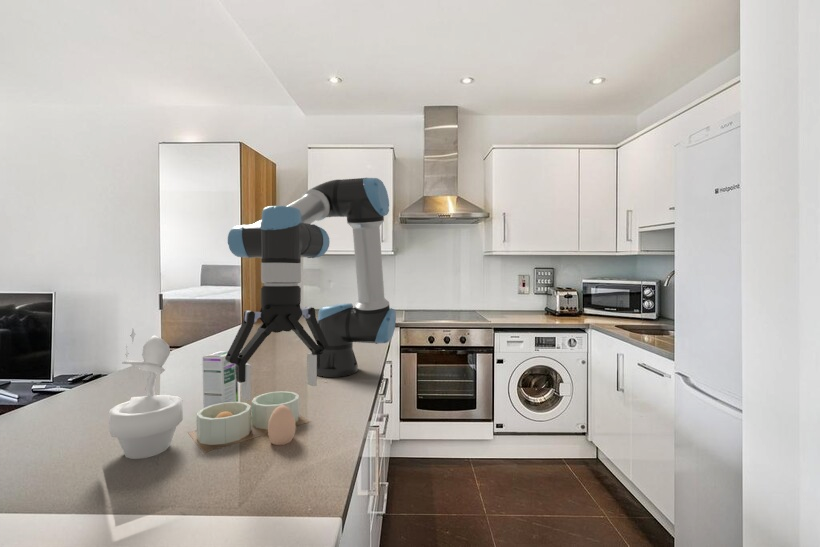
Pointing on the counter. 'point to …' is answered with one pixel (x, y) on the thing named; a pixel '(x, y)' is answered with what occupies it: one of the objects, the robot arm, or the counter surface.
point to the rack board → (253, 434)
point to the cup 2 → (273, 406)
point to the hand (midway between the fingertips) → (280, 391)
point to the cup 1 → (223, 423)
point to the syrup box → (219, 379)
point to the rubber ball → (224, 414)
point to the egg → (281, 426)
